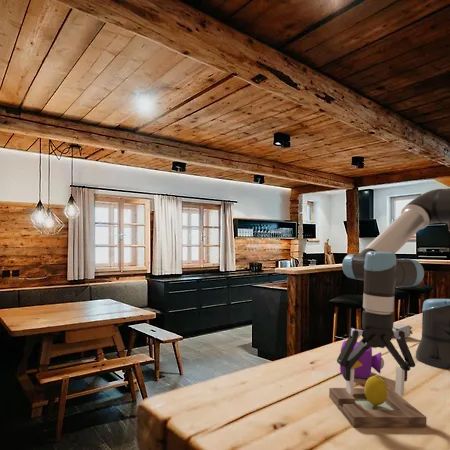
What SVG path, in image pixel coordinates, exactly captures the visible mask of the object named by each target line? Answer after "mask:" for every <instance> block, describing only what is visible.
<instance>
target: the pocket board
mask: <svg viewBox="0 0 450 450" xmlns="http://www.w3.org/2000/svg"><path fill="white" fill-rule="evenodd" d="M328 390H329V391H328V393H329V394H328V397H329V399H330V400H331V401H332V402H333V404H334V405H335V407H336V408H337V409H338V410H339V411H340V412H341V414H342V415H343V416H344V417H345V418H346V420H347V421H348V422H349V424H350V425H351V426H352V428H354V429H355V428H356V429H357V428H359V429H360V428H361V429H362V428H365V429H366V428H367V429H372V428H373V429H377V428H379V429H382V428H384V429H385V428H386V429H389V428H391V429H392V428H393V429H394V428H395V429H397V428H398V429H399V428H401V429H405V428H408V429H410V428H411V429H412V428H413V429H417V428H419V429H423V428H424V429H425V428H427V416H426V415H424V414H423V413H422V412H421V411H419V410H418V409H417V408H416V407H415V406H414V405H413V404H411V403H410V402H408V401H407V400H406V399H405V398H403V396H401V395H400V394H398V393H397V392H396V391H395V390H393V389H392V388H387V399H386V401H385V402H384V403H383V404H381V405H377V406H374V405H373V404H372V403H370V402H369V401H368V400H367V398H366V396H365V387H362V388H361V387H358V388H357V387H356V388H355V387H354V392H353V395H350V394H349V393H348V392H347V391H346V387H329V389H328Z"/></svg>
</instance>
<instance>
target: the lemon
mask: <svg viewBox="0 0 450 450" xmlns="http://www.w3.org/2000/svg"><path fill="white" fill-rule="evenodd" d="M364 388H365V396H366V398H367V400H368V401H369V402H370V403H372V404H373V405H374V406H377V405H381V404H383V403H384V402H385V401H386V399H387V389H388V386H387V383H386V382H385V380H384V379H383V377H380V376H379V375H378V374H375V375H372V376H370V377H369V378H368V379H367V380H366V382H365V384H364Z"/></svg>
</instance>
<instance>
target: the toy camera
mask: <svg viewBox="0 0 450 450" xmlns="http://www.w3.org/2000/svg"><path fill="white" fill-rule="evenodd" d="M346 341H347V340H344V341H343V342H342V343H341V344H342V345H341V347H340V352H341V351H342V349H343V347H344V345H345V343H346ZM359 342H360V341H357V342H356V344H355V346H354V348H353V350H354V349H355V348H356V347H357V346H358V345H359ZM365 344H366V343H365ZM353 350H352V352H353ZM352 352H351V353H352ZM384 366H385V360H384V358H383V357H382V352H378V353H376V354H374V355H373V348H372V347H370V348H369V349H368V350H366V351H365V352H364V353H363V355H362V356H361V357H360V358H359V359H358V361H357V362H356V363H355V364H354V365H353V366H352V368H353V369H354V378H360V379H364V380H365V379H368V378H370V377H371V374H372V368H373V369H374V371H376V372H377V373H379V374H381V373H382V372H381V370H382V369H383V368H384ZM339 370H340V373H341V374H342V375H344V366H341V365H340V364H339Z"/></svg>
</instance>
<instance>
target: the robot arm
mask: <svg viewBox="0 0 450 450" xmlns="http://www.w3.org/2000/svg"><path fill="white" fill-rule="evenodd" d="M431 224H447V227H448V229H447V230H448V231H449V232H450V187H449V188H436V189H432V190H429V191H427V192H424V193H422V194H421V195H419V196H416V197H415V198H414V199H412V200H411V201H409V203H407V204H406V205H405V206H404V207H403V208H402V209H401V212H400V214H399V216H398V217H396V219H394V220H393V221H392V222H391V223H390V224H389V225H388V226H387V227H386V228H384V230H383V231H382V232H381V233H379V235H377V237H375V238H374V239H373V240H372V241H371V242H370V243H369V244H368V245H366V246H365V248H364V249H363V250H361V251H360V252H359V253H358V254H357V253H353V254H352V253H349V254H347V255H346V256H344V258H343V259H342V263H341V264H342V266H341V267H342V268H341V269H342V271H343V272H342V273H343V274H344V275H345V277H347V278H349V279H353V280H358V281H359V280H360V281H363V295H362V308H363V310H362V315H361V316H362V318H361V319H362V320H361V324H362V327H361V329H356V328H354V327H351V328H350V329H349V334H348V337H347V339H346V340H345V341H346V343H345V345H344V347H343V349H342V351H341V350H340V353H339V355H338V356H337V359H336V363H337V364H339V366H340V365H341V366H344V374H343V379H344V380H345V381H346V382H345V383H346V386H345V388H346V391H347V392H348V393H349V394H350V395H353V392H354V388H355V387H354V386H355V377H354V369H353V368H352V366H353V365H354V364H355V363H356V362H357V361H358V359H359V358H360V357H361V356H362V355H363V353H364V352H365V351H366V350H368V349H369V348H370V347H372V349H376V348H380V349H385V348H386V349H387V350H388V352H389V354H391V356H392V357H393V359H394V360H395V361H396V363H397V364H398V365H399V366H398V365H397V366H396V367H395V386H394V387H395V390H394V391H395V392H396V393H397V394H399V395H400V396H401V397H403V396H405V395H404V394H405V382H407V381H408V372H409V371H411V368H415V367H416V363H415V360H414V357H413V355H412V353H411V350H410V348H409V346H408V343H407V340H406V338H405V333H404V332H403V331H401V330H399V329H396V330H395V331H393V329H392V328H393V325H394V322H395V321H394V320H395V318H394V317H395V315H394V313H393V312H394V311H395V291H396V290H395V289H396V288H399V287H400V288H401V287H405V288H406V287H407V288H410V287H414V286H418V285H419V284H420V283H421V282H422V281H423V279H424V276H425V271H424V270H425V269H424V267H423V265H422V264H421V263H420V262H419V261H418V260H415V259H411V258H397V255H396V253H398V252H399V250H400V249H402V248H403V247H404V245H405V244H406V243H408V241H409V240H410V239H412V237H414V235H416V233H417V232H418V231H420V230H423V229H425V228H427V227H428V226H429V225H431ZM421 313H422V316H421V317H422V319H421V338H420V341H419V343H418V346H417V348H416V350H415V358H416V360H417V361H419V362H421V363H423V364H425V365H429V366H433V367H437V368H443V369H450V298H428V299H425V300H424V301H423V303H422V311H421ZM360 336H361V337H362V338H361V337H360ZM393 336H394V337H393ZM360 338H361V339H360ZM393 338H395V340H396V343H397V345H398V347H399V349H400V352H401V354H400V353H399V352H398V350H397V349H396V348H395V347H396V346H395V345H394V344H393V343H392V340H393ZM358 339H360V341H358ZM356 342H359V345H358V346H357V347H356V348H355V349H354V350H353V348H354V346H355V344H356ZM365 343H366V344H365ZM352 350H353V352H352ZM351 352H352V353H351ZM401 355H402V356H401Z"/></svg>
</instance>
